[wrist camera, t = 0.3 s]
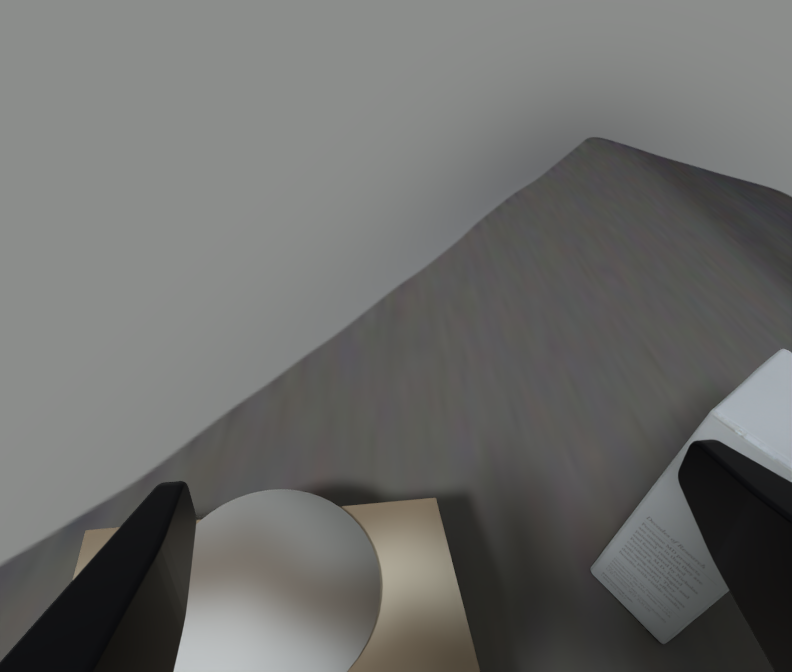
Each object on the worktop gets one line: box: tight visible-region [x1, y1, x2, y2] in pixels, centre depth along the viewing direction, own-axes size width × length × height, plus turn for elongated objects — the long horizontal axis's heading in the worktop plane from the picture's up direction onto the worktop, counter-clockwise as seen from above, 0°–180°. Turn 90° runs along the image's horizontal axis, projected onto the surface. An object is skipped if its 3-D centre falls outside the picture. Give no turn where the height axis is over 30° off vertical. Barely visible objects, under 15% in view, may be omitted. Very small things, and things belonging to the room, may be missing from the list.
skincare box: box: [590, 349, 792, 644], centre depth 22 cm, size 6×4×12 cm
